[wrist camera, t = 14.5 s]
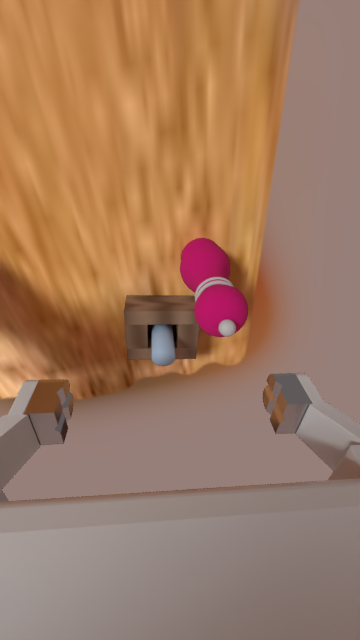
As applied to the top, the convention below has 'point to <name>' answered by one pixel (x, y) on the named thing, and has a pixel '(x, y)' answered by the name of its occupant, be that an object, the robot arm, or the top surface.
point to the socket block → (160, 312)
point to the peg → (163, 344)
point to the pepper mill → (212, 288)
